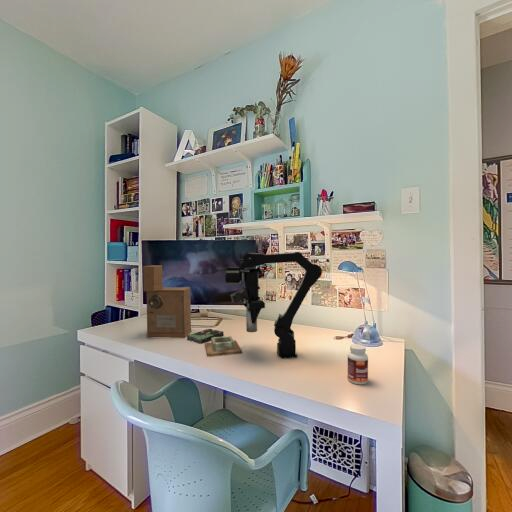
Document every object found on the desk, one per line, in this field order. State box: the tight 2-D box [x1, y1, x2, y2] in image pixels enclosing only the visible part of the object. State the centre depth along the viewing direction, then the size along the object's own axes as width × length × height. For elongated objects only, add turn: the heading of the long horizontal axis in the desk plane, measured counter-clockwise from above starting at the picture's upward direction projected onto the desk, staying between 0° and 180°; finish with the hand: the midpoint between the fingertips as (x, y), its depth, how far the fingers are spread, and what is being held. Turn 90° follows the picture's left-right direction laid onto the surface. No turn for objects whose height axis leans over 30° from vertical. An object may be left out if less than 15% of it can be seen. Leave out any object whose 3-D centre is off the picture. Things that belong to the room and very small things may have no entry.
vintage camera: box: [142, 264, 192, 339], centre depth 141 cm, size 19×14×35 cm
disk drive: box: [186, 328, 225, 345], centre depth 137 cm, size 10×3×15 cm
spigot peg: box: [245, 306, 258, 333], centre depth 115 cm, size 4×4×10 cm
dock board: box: [204, 335, 243, 358], centre depth 121 cm, size 14×14×4 cm
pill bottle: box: [347, 343, 369, 385], centre depth 91 cm, size 6×6×11 cm
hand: (251, 322), depth 115 cm, fingers closed on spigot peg, 4 cm apart
